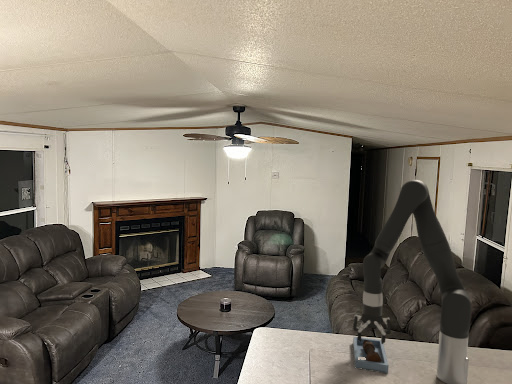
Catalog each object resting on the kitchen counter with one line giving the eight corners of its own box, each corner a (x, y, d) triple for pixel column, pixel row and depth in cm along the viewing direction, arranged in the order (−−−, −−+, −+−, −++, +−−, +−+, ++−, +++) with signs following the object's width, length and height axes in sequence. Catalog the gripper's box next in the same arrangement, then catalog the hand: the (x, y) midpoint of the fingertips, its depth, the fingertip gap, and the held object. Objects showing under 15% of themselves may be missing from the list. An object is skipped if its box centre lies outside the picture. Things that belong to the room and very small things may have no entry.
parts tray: (382, 347, 159) (382, 340, 159) (388, 373, 139) (388, 365, 139) (353, 343, 162) (353, 336, 162) (354, 368, 141) (355, 360, 141)
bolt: (368, 352, 157) (375, 370, 142) (357, 345, 157) (364, 362, 142) (375, 340, 156) (384, 357, 141) (365, 334, 157) (372, 350, 142)
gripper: (390, 301, 151) (388, 340, 152) (353, 297, 154) (352, 335, 155) (392, 307, 144) (390, 348, 145) (354, 303, 147) (353, 344, 148)
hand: (371, 342), depth 150 cm, fingers open, 8 cm apart
